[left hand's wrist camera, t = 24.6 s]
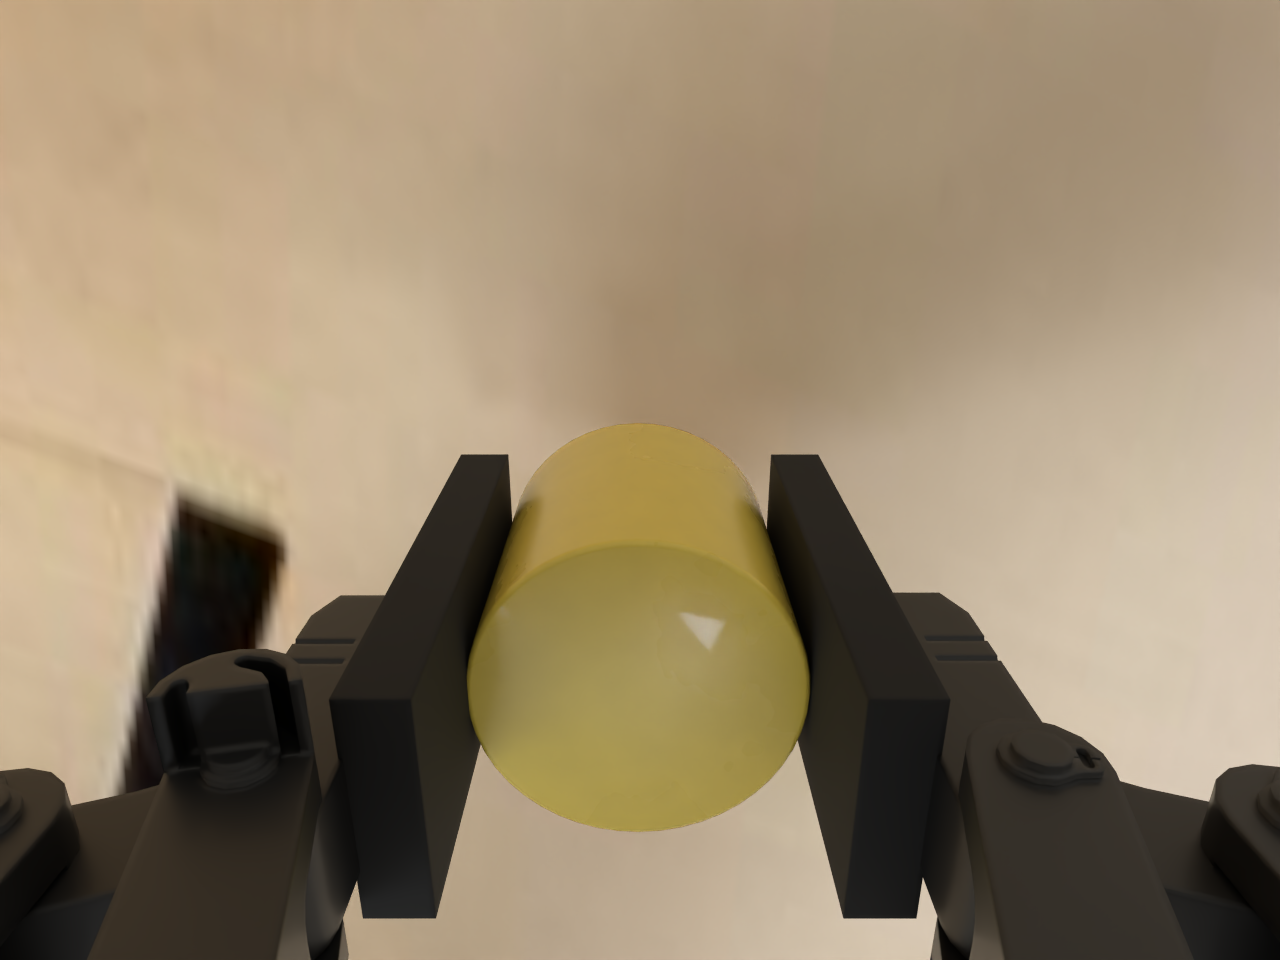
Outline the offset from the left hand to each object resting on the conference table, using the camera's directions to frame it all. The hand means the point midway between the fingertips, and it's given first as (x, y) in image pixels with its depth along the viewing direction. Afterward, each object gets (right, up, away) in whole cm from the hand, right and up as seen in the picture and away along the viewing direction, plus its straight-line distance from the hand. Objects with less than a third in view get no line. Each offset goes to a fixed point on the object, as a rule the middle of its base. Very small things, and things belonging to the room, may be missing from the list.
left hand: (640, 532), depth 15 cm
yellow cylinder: (0, 0, 0) cm, 0 cm away
